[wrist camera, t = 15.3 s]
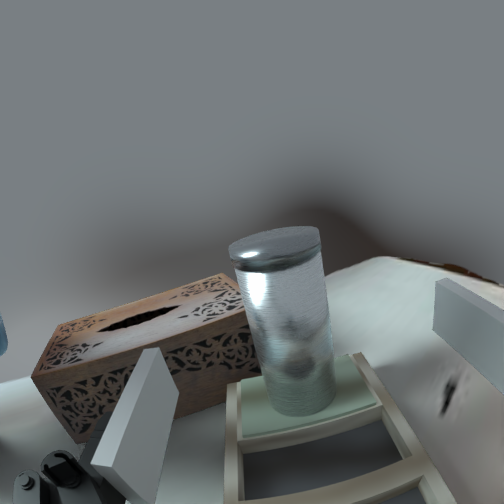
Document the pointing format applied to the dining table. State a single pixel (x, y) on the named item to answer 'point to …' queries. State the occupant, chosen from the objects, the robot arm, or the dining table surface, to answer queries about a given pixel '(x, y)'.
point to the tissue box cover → (144, 337)
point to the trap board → (327, 447)
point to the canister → (288, 316)
